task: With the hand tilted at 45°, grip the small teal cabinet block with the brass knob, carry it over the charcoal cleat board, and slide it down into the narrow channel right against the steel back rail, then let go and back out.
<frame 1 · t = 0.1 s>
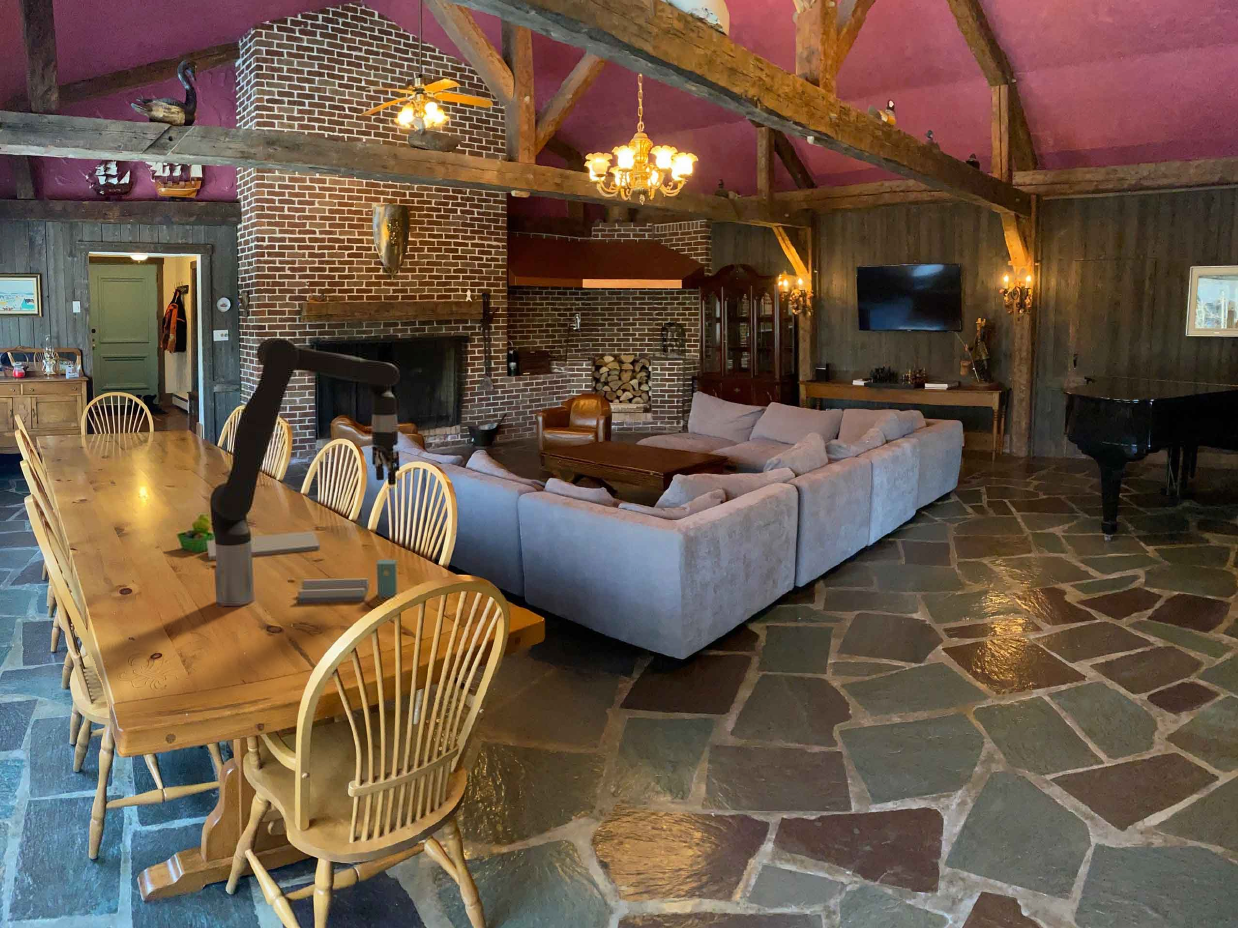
hand: (386, 482, 284), 29 cm above the table, tool pointing down, fingers open, 8 cm apart
cleat board: (333, 596, 268), on the table
fruit basket: (198, 549, 315), on the table
teal cabinet block: (387, 595, 271), on the table
light grey long block: (264, 553, 314), on the table
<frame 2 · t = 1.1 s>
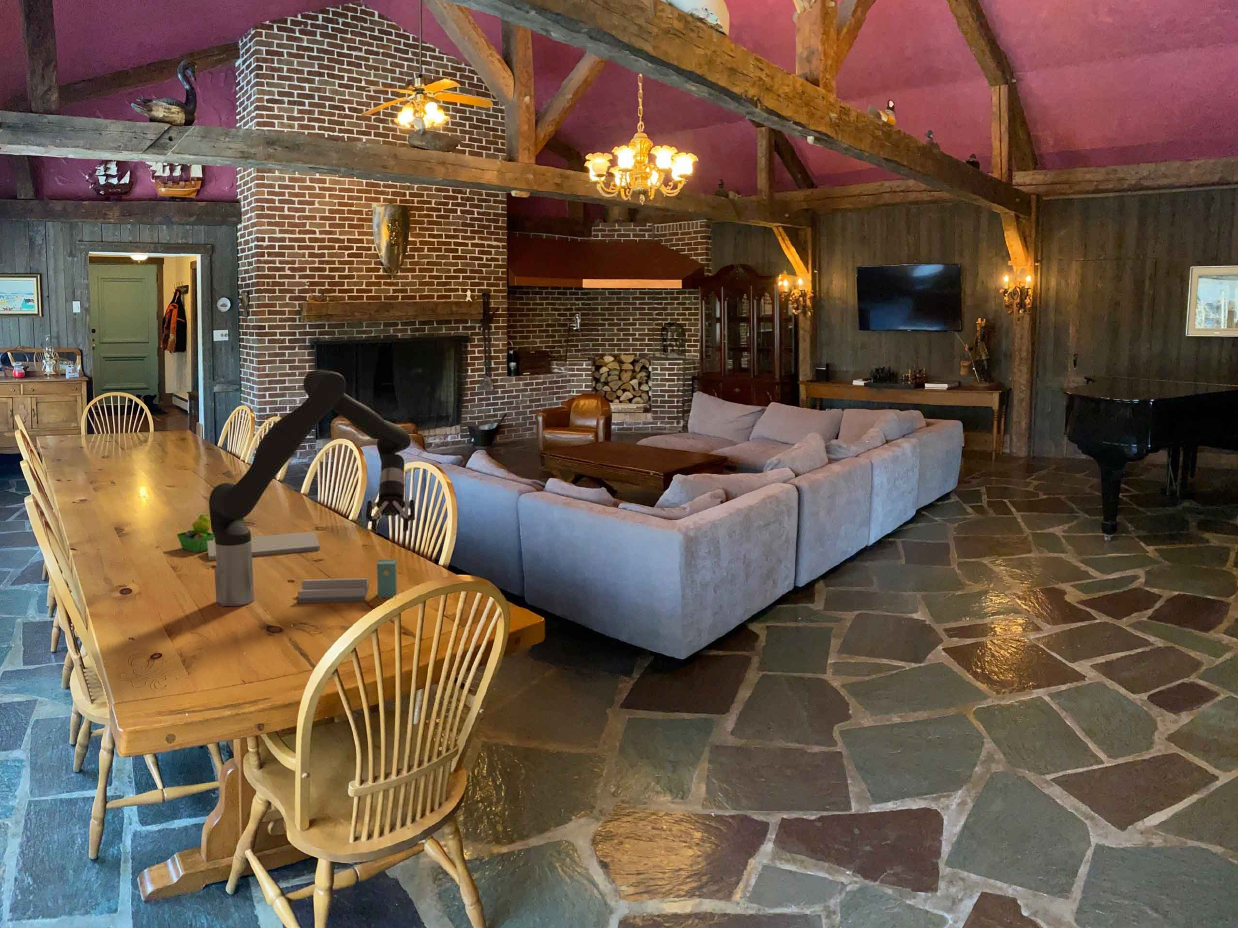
hand: (389, 531, 279), 16 cm above the table, tool tilted 45°, fingers open, 8 cm apart
nothing on the table moved.
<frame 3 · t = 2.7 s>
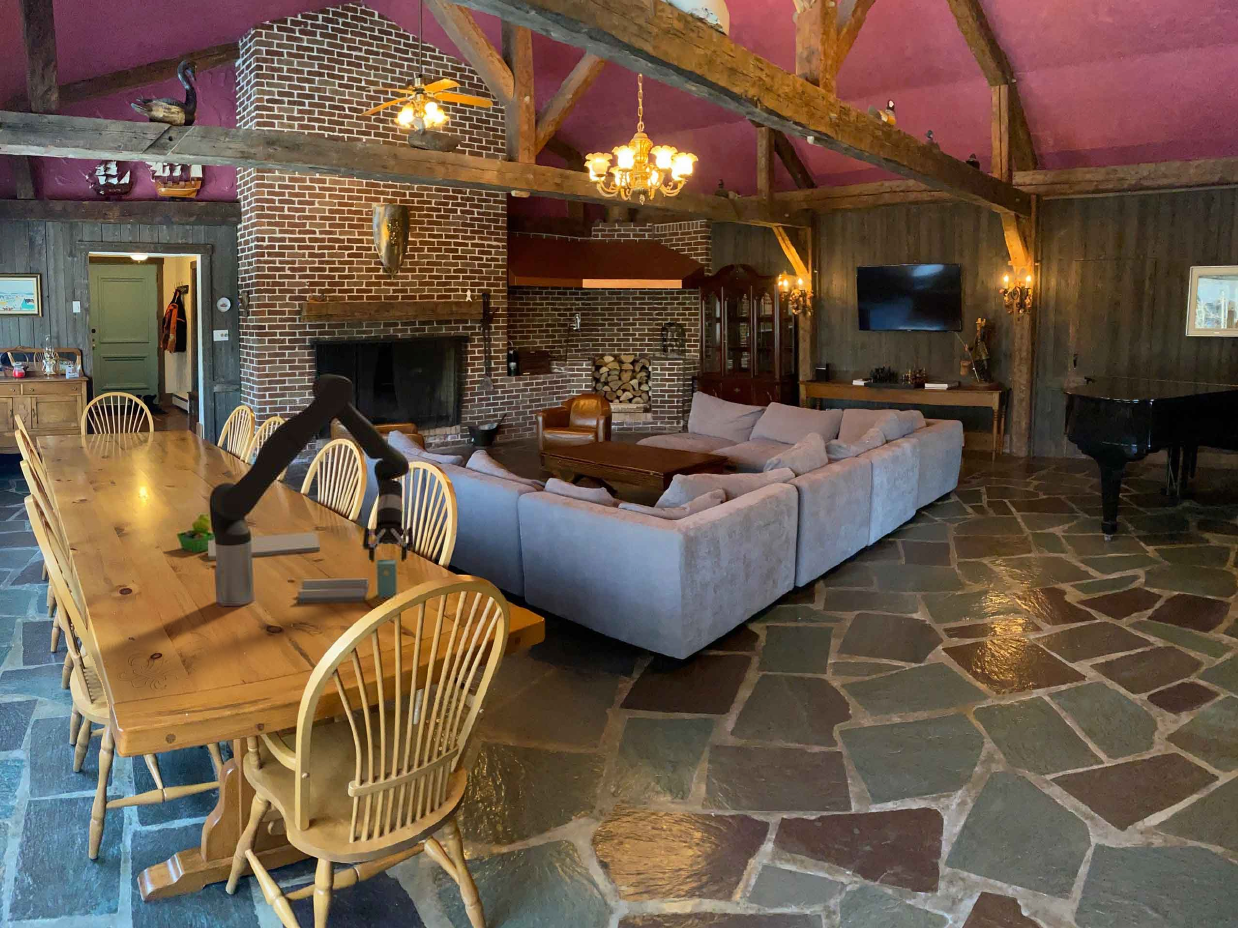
hand: (387, 560, 273), 9 cm above the table, tool tilted 45°, fingers open, 8 cm apart
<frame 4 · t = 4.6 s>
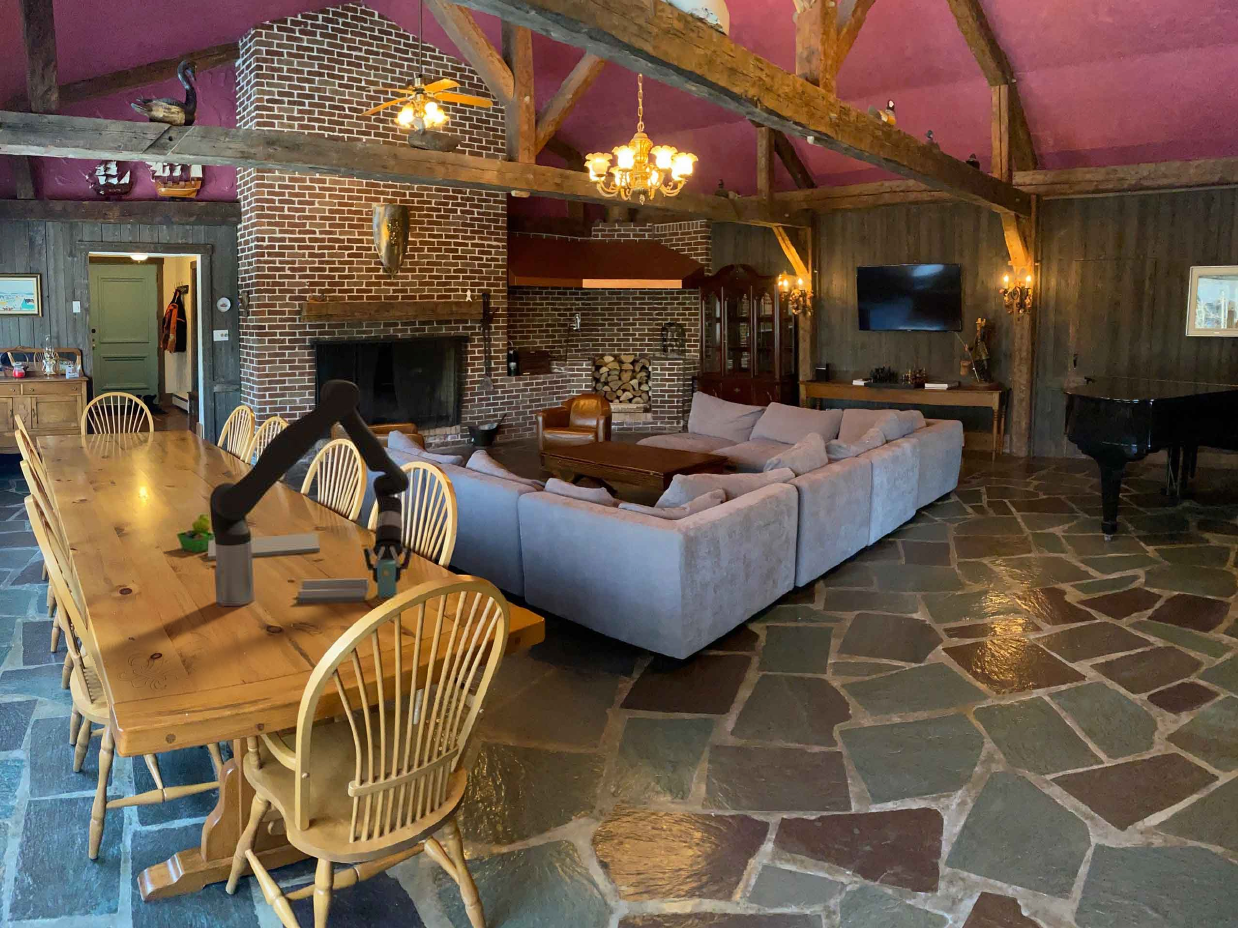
hand: (386, 581, 268), 5 cm above the table, tool tilted 45°, fingers closed on teal cabinet block, 5 cm apart
teal cabinet block: (387, 595, 271), on the table, touching gripper
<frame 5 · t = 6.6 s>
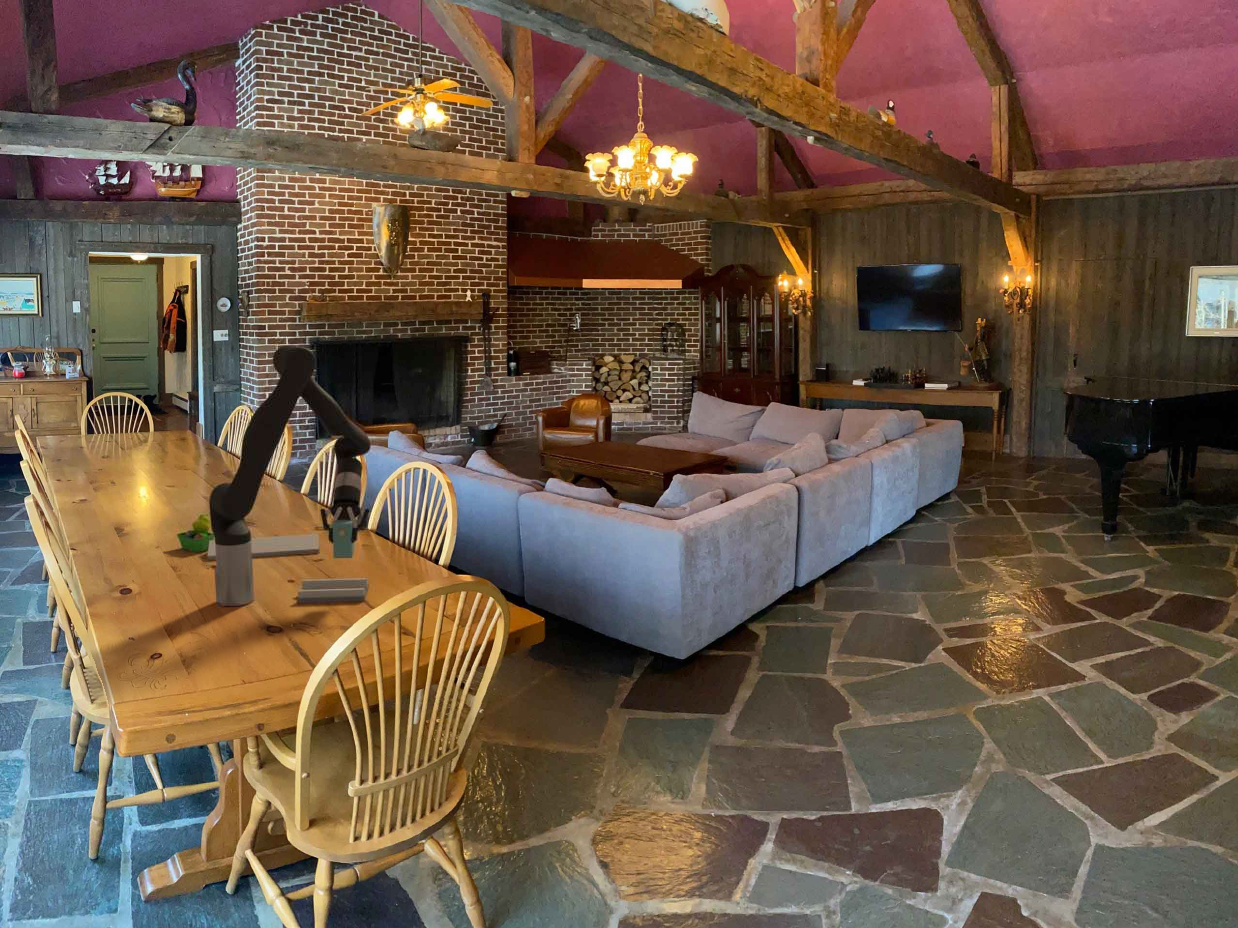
hand: (342, 541, 264), 17 cm above the table, tool tilted 45°, fingers closed on teal cabinet block, 5 cm apart
teal cabinet block: (343, 556, 266), point 12 cm above the table, touching gripper
when the fingers open (7 cm above the table, at t = 8.8 s): teal cabinet block drops 1 cm, resting on cleat board.
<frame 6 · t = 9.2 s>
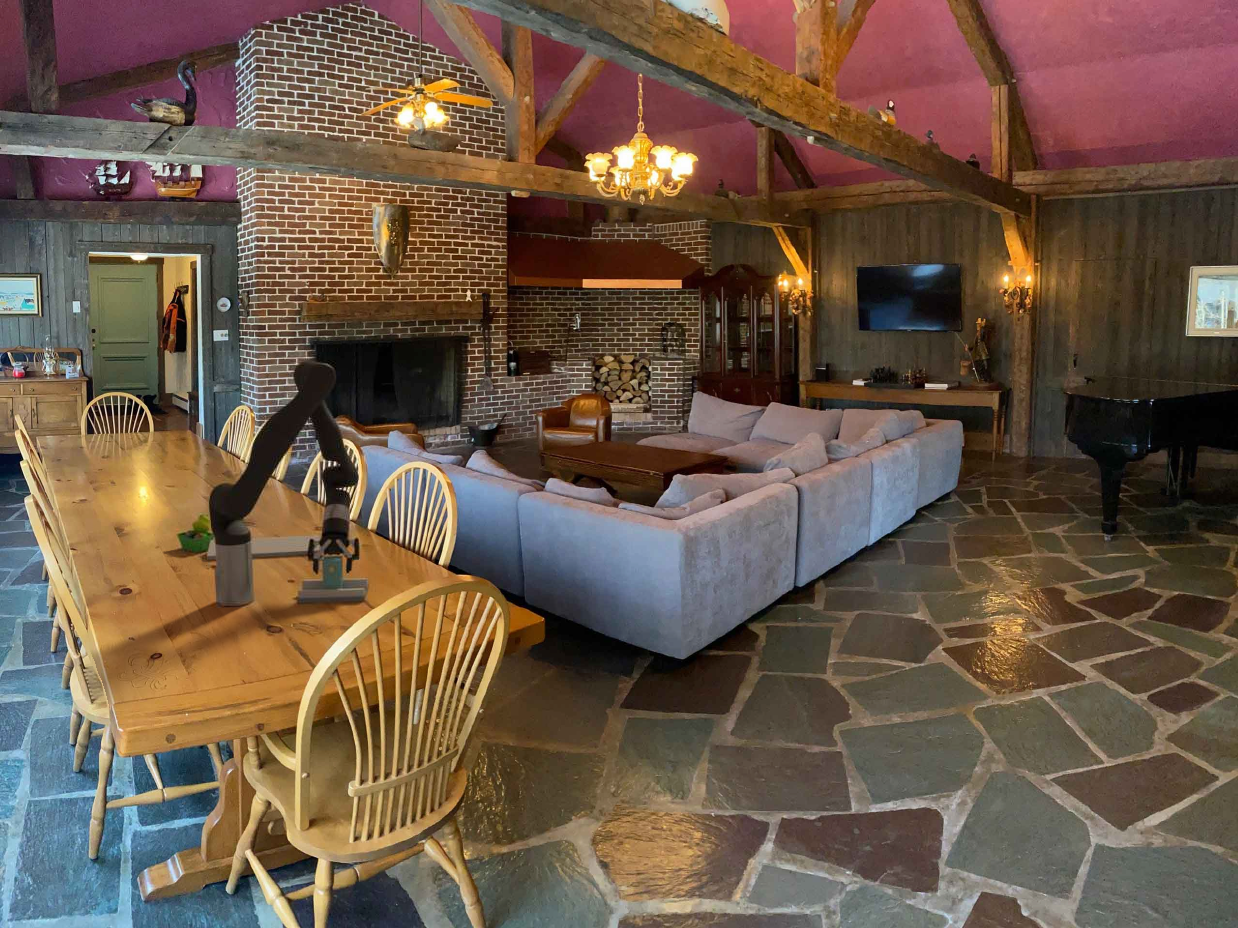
hand: (332, 572, 266), 8 cm above the table, tool tilted 45°, fingers open, 8 cm apart
teal cabinet block: (333, 592, 269), point 1 cm above the table, touching cleat board
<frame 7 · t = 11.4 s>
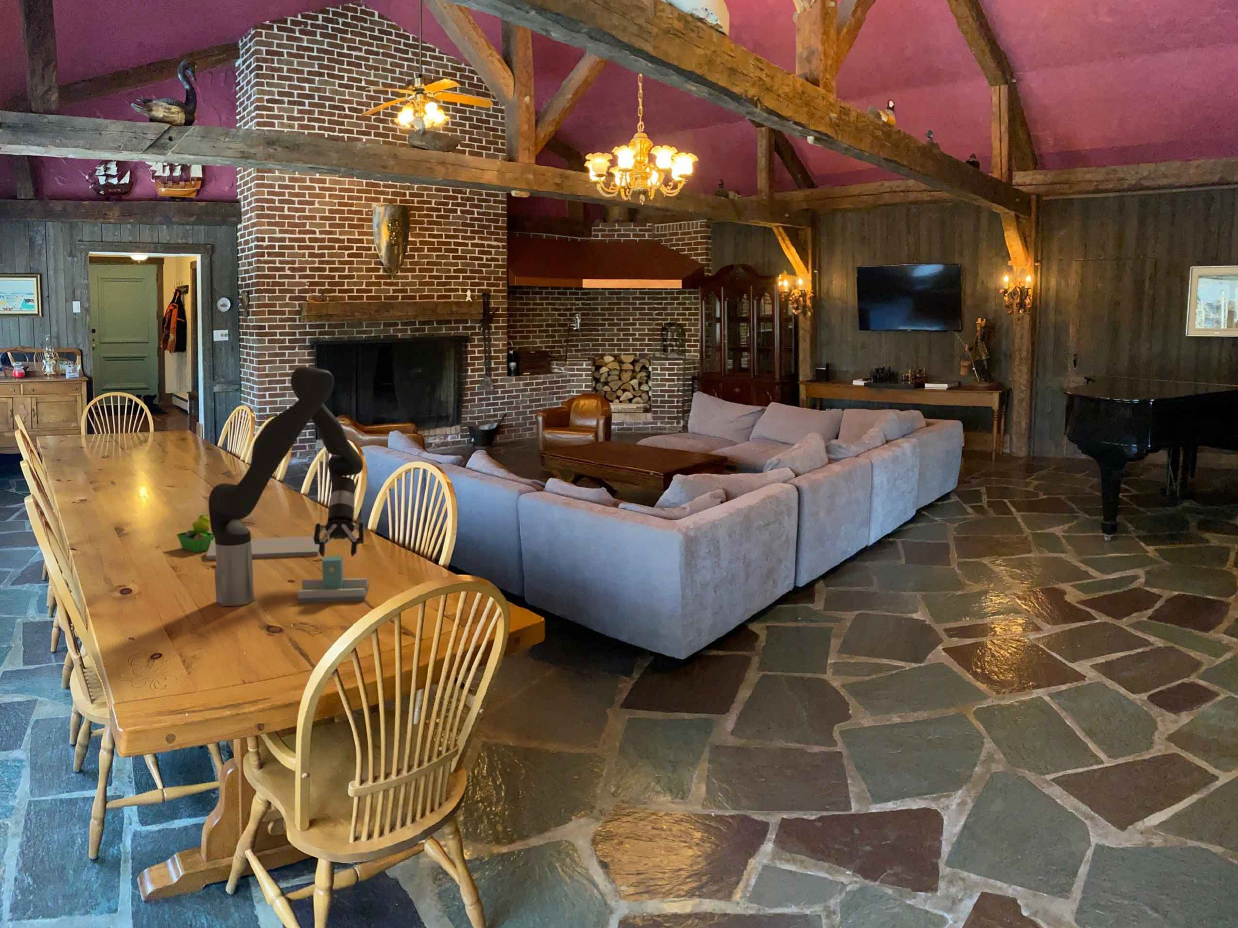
hand: (337, 555, 278), 9 cm above the table, tool tilted 45°, fingers open, 8 cm apart
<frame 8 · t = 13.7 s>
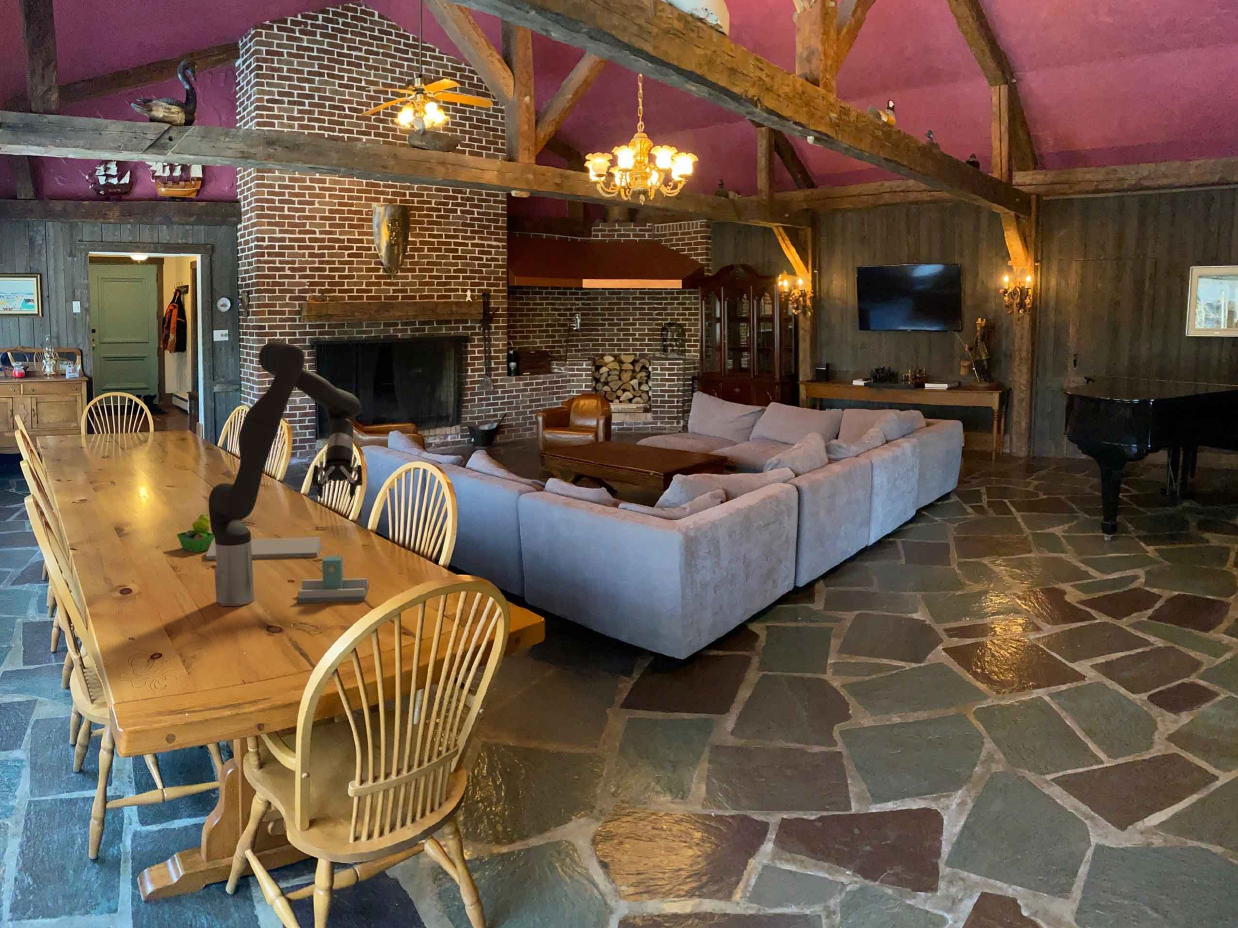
hand: (336, 496, 275), 27 cm above the table, tool tilted 45°, fingers open, 8 cm apart
at the end: teal cabinet block 0.5 cm from the cleat board (horizontally); teal cabinet block point 1.2 cm above the table; teal cabinet block tilted 0° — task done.
